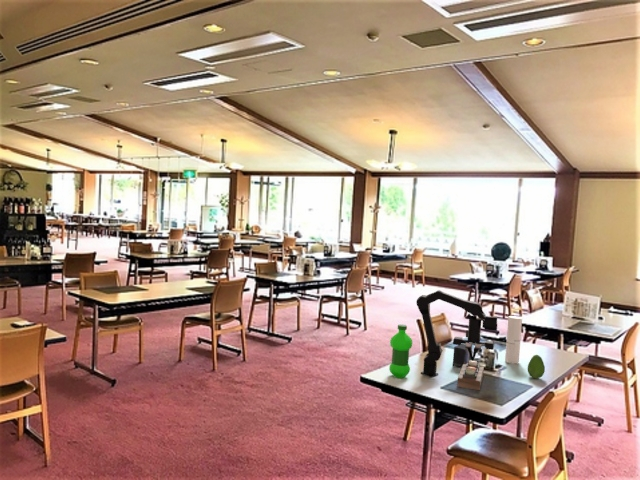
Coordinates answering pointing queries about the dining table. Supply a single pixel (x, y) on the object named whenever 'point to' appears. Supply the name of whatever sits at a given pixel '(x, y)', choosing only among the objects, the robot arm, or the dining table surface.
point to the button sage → (470, 372)
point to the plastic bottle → (400, 353)
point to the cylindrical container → (513, 339)
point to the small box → (461, 356)
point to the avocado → (536, 367)
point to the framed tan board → (470, 377)
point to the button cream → (473, 363)
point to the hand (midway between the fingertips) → (472, 360)
